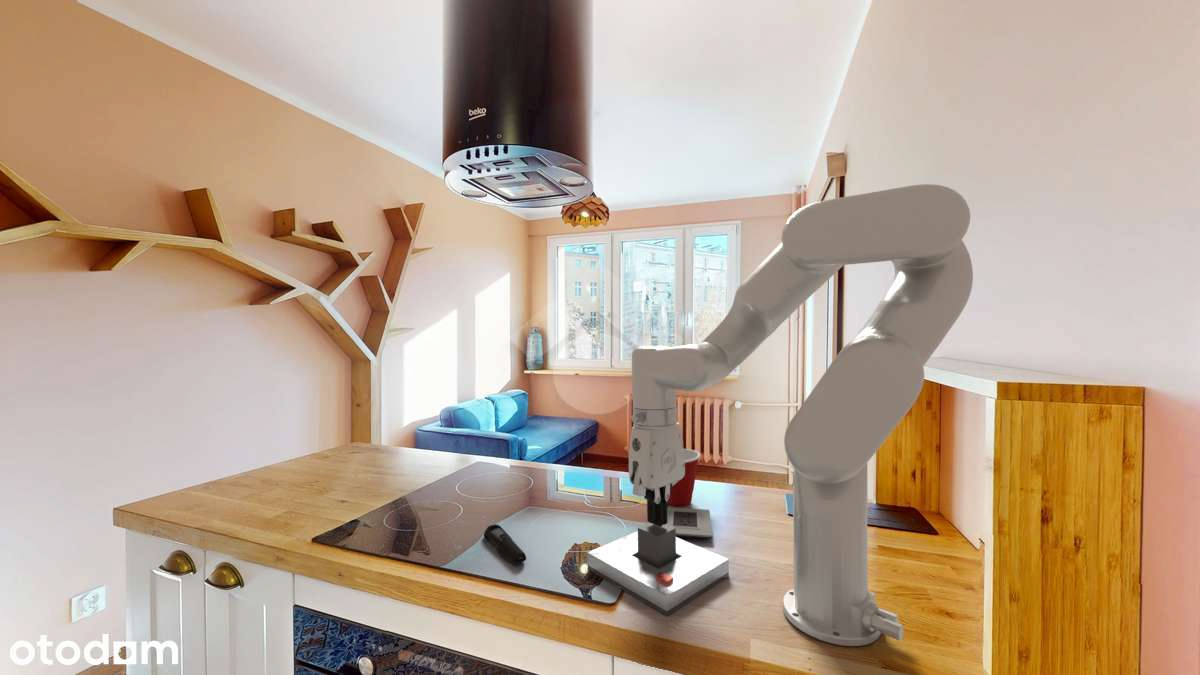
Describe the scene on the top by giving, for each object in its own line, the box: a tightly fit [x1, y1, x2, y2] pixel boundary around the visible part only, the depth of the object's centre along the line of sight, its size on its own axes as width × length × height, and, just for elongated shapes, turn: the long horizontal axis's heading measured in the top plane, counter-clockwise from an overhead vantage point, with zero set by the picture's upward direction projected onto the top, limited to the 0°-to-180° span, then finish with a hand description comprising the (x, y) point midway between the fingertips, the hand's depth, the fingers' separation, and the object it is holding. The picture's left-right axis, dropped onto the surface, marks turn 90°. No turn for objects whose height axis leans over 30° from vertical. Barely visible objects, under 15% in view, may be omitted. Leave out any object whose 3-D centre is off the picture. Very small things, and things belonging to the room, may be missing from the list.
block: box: [637, 522, 676, 569], centre depth 78 cm, size 5×5×7 cm
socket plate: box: [587, 530, 730, 617], centre depth 78 cm, size 18×16×4 cm
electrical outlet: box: [667, 506, 713, 540], centre depth 96 cm, size 13×10×2 cm
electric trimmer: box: [483, 523, 527, 565], centre depth 87 cm, size 4×16×3 cm, turn 33°
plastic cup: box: [666, 448, 701, 508], centre depth 110 cm, size 11×11×12 cm
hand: (657, 522), depth 79 cm, fingers closed
